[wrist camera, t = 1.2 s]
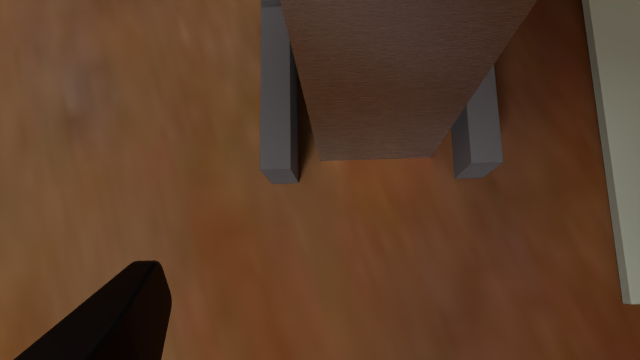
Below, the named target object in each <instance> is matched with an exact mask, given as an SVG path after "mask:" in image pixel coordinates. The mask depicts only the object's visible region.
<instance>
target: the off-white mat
mask: <svg viewBox="0 0 640 360" xmlns="http://www.w3.org/2000/svg"><path fill="white" fill-rule="evenodd" d="M582 6H583V13H584V20H585V28H586V35H587V42H588V50H589V57H590V64H591V72H592V79H593V87H594V94H595V101H596V109H597V116H598V123H599V131H600V138H601V145H602V153H603V160H604V167H605V175H606V182H607V189H608V197H609V204H610V212H611V219H612V226H613V234H614V241H615V248H616V256H617V263H618V270H619V278H620V285H621V292H622V300H623V304H640V0H582Z"/></svg>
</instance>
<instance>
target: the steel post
mask: <svg viewBox="0 0 640 360" xmlns="http://www.w3.org/2000/svg"><path fill="white" fill-rule="evenodd" d="M536 1H537V0H280V3H281V7H282V11H283V15H284V19H285V23H286V27H287V31H288V35H289V39H290V43H291V47H292V51H293V55H294V59H295V63H296V67H297V71H298V75H299V79H300V83H301V87H302V91H303V95H304V99H305V103H306V107H307V111H308V115H309V119H310V123H311V127H312V131H313V135H314V139H315V143H316V147H317V151H318V155H319V159H320V161H334V160H366V159H398V158H430V157H431V156H432V155H433V153H434V152H435V150H436V149H437V148H438V146H439V145H440V143H441V142H442V140H443V139H444V137H445V136H446V134H447V133H448V131H449V130H450V128H451V127H452V125H453V124H454V122H455V121H456V119H457V118H458V117H459V115H460V114H461V112H462V111H463V109H464V108H465V106H466V105H467V103H468V102H469V100H470V99H471V97H472V96H473V94H474V93H475V91H476V90H477V88H478V87H479V85H480V84H481V83H482V81H483V80H484V78H485V77H486V75H487V74H488V72H489V71H490V69H491V68H492V66H493V65H494V63H495V62H496V60H497V59H498V57H499V56H500V54H501V53H502V52H503V50H504V49H505V47H506V46H507V44H508V43H509V41H510V40H511V38H512V37H513V35H514V34H515V32H516V31H517V29H518V28H519V26H520V25H521V23H522V22H523V21H524V19H525V18H526V16H527V15H528V13H529V12H530V10H531V9H532V7H533V6H534V4H535V3H536Z"/></svg>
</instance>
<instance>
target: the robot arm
mask: <svg viewBox="0 0 640 360" xmlns="http://www.w3.org/2000/svg"><path fill="white" fill-rule="evenodd" d="M171 305H172V299H171V293H170V290H169V287H168V284H167V280H166V277H165V274H164V271H163V268H162V266H161V264H160V263H159V262H158V261H154V260H153V261H135V262H133V263H131V264H130V265H128V266H127V267H126V268H125V269H123V270H122V271H121V272H120V273H119V274H117V275H116V276H115V277H114V278H113V279H111V280H110V281H109V282H108V283H106V284H105V285H104V286H103V287H102V288H100V289H99V290H98V291H97V292H95V293H94V294H93V295H92V296H91V297H89V298H88V299H87V300H86V301H85V302H83V303H82V304H81V305H80V306H78V307H77V308H76V309H75V310H74V311H72V312H71V313H70V314H69V315H67V316H66V317H65V318H64V319H63V320H61V321H60V322H59V323H58V324H57V325H55V326H54V327H53V328H52V329H50V330H49V331H48V332H47V333H46V334H44V335H43V336H42V337H41V338H39V339H38V340H37V341H36V342H35V343H33V344H32V345H31V346H30V347H29V348H27V349H26V350H25V351H24V352H22V353H21V354H20V355H19V356H18V357H16V358H15V359H14V360H161V358H162V353H163V347H164V342H165V337H166V332H167V327H168V322H169V317H170V312H171Z"/></svg>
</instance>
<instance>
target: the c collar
mask: <svg viewBox="0 0 640 360" xmlns="http://www.w3.org/2000/svg"><path fill="white" fill-rule="evenodd" d="M451 131H452V145H453V158H454V172H455V178H483V177H484V176H485V175H487V174H488V173H489V172H491V171H492V170H493V169H495V168H496V167H497V166H499V165H500V164H501V163H503V154H502V144H501V133H500V123H499V112H498V101H497V91H496V80H495V70H494V65H493V66H492V68H491V69H490V71H489V72H488V74H487V75H486V77H485V78H484V80H483V81H482V83H481V84H480V85H479V87H478V88H477V90H476V91H475V93H474V94H473V96H472V97H471V99H470V100H469V102H468V103H467V105H466V106H465V108H464V109H463V111H462V112H461V114H460V115H459V117H458V118H457V119H456V121H455V122H454V124H453V125H452V127H451ZM260 170H261V171H262V172H263V173H264V175H265V176H266V177H267V178H268V180H269V181H270V182H271V183H272V184H281V183H298V97H297V67H296V63H295V59H294V55H293V51H292V47H291V43H290V39H289V35H288V31H287V27H286V23H285V19H284V15H283V11H282V7H281V3H280V0H261V122H260Z"/></svg>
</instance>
